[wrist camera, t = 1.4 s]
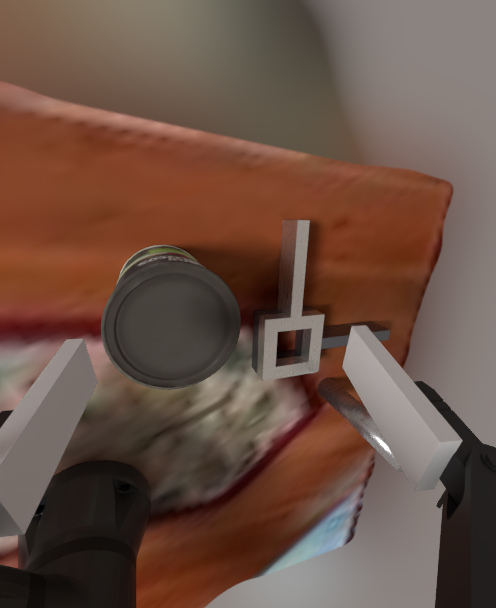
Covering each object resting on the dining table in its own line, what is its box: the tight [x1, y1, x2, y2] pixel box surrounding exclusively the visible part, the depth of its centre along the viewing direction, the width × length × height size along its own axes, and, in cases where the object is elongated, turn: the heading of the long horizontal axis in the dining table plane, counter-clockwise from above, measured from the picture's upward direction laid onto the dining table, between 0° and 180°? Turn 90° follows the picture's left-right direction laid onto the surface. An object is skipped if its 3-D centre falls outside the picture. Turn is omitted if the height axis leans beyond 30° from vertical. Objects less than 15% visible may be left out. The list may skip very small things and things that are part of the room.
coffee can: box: [101, 245, 241, 390], centre depth 28 cm, size 10×10×14 cm
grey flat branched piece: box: [252, 220, 390, 381], centre depth 40 cm, size 21×21×4 cm
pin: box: [318, 378, 403, 472], centre depth 40 cm, size 3×3×16 cm
